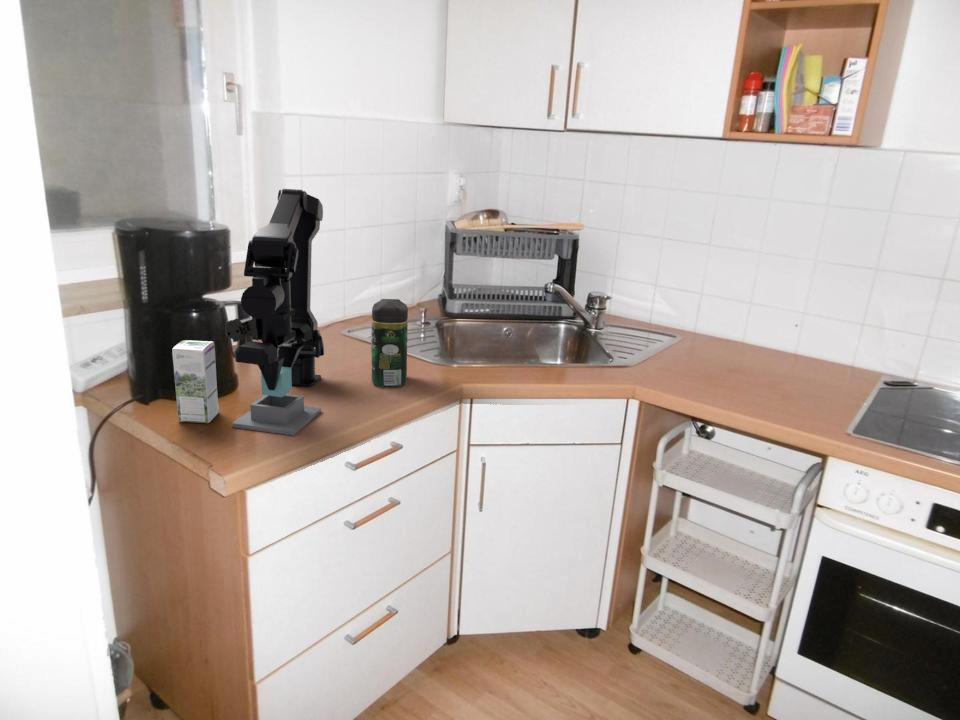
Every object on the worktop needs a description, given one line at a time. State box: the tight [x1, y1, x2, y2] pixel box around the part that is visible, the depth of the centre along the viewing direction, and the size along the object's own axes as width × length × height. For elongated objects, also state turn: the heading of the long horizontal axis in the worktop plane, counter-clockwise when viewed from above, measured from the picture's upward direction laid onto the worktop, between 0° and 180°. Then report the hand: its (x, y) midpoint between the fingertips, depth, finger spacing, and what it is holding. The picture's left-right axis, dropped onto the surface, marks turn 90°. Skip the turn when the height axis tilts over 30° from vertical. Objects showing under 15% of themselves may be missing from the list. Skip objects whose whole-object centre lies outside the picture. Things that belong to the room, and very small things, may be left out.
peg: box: [260, 367, 293, 397], centre depth 126 cm, size 4×4×4 cm
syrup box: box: [171, 339, 220, 424], centre depth 125 cm, size 6×6×14 cm
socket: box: [231, 393, 322, 437], centre depth 128 cm, size 12×12×4 cm
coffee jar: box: [370, 298, 409, 389], centre depth 149 cm, size 10×8×19 cm
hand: (277, 386), depth 126 cm, fingers closed on peg, 4 cm apart
